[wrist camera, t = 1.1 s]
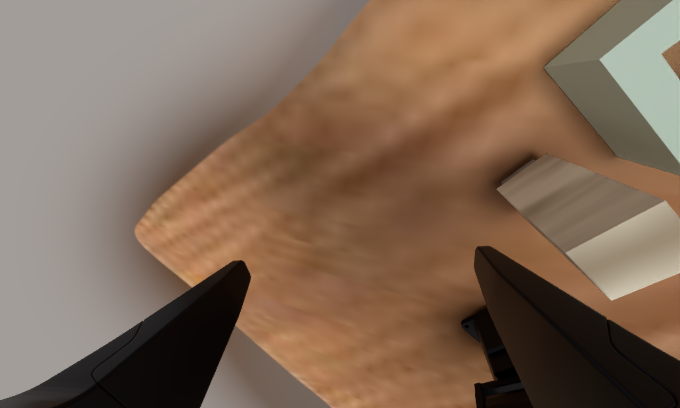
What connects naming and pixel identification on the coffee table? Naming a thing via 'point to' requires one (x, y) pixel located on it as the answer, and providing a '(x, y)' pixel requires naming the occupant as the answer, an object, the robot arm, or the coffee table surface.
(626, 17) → the green square frame
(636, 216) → the beige rectangular block
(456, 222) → the coffee table surface
